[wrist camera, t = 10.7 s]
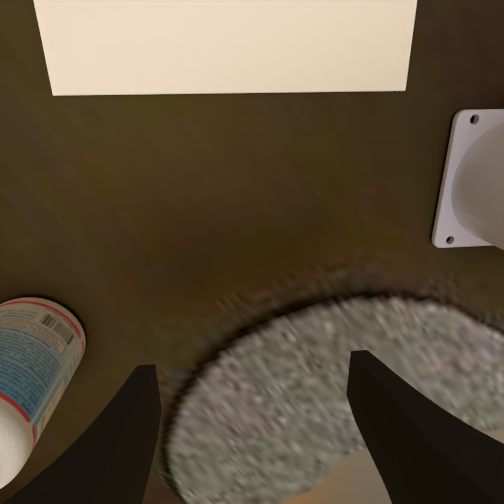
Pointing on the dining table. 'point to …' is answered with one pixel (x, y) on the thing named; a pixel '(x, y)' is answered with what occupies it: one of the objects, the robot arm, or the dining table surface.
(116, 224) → the dining table surface
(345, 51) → the paper
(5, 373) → the pill bottle
